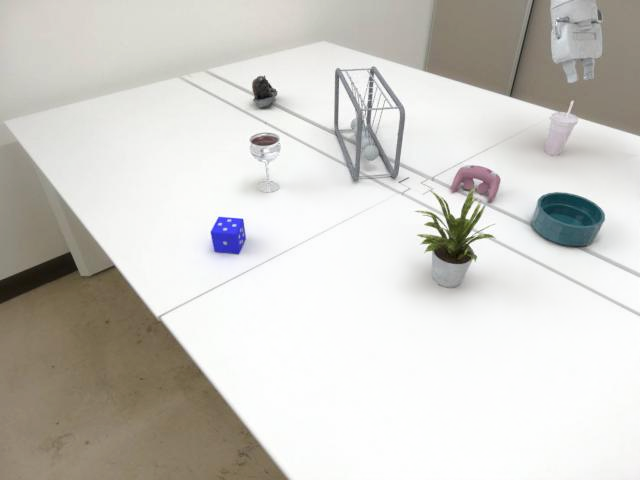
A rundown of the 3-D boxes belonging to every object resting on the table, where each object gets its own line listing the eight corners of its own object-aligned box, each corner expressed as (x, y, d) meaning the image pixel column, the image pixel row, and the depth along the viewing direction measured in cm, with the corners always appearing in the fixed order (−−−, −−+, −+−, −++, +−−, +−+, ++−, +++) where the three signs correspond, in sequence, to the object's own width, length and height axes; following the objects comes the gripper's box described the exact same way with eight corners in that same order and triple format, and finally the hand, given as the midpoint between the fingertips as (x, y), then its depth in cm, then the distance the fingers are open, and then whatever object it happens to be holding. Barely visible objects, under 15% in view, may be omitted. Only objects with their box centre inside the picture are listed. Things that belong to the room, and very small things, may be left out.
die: (214, 252, 88) (210, 231, 85) (221, 236, 92) (218, 216, 88) (239, 254, 87) (236, 234, 84) (246, 238, 91) (243, 218, 88)
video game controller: (494, 202, 103) (505, 172, 102) (492, 203, 99) (503, 172, 98) (452, 190, 107) (461, 161, 105) (448, 191, 103) (457, 160, 101)
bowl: (583, 213, 97) (592, 194, 94) (604, 250, 88) (614, 229, 85) (524, 210, 98) (531, 190, 95) (538, 245, 89) (546, 225, 86)
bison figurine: (257, 96, 149) (254, 64, 143) (279, 96, 149) (277, 65, 142) (252, 111, 140) (248, 78, 133) (275, 111, 139) (272, 78, 133)
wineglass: (262, 197, 102) (257, 149, 95) (249, 184, 107) (243, 137, 99) (288, 188, 105) (286, 141, 98) (274, 175, 110) (270, 129, 102)
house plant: (415, 240, 90) (427, 168, 80) (487, 257, 86) (510, 183, 76) (398, 288, 80) (409, 212, 70) (479, 309, 76) (504, 232, 66)
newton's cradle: (398, 181, 108) (406, 109, 97) (354, 184, 107) (358, 112, 95) (369, 126, 131) (374, 63, 120) (333, 129, 130) (334, 65, 119)
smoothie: (557, 160, 115) (577, 107, 106) (534, 151, 119) (551, 99, 110) (570, 152, 118) (590, 100, 110) (547, 144, 122) (564, 92, 113)
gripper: (570, 10, 93) (579, 79, 95) (605, 13, 106) (611, 74, 108) (539, 22, 98) (548, 88, 100) (575, 24, 111) (582, 82, 113)
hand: (581, 81), depth 104 cm, fingers open, 8 cm apart
